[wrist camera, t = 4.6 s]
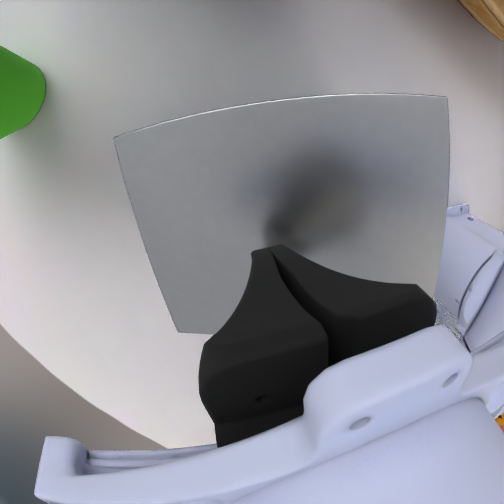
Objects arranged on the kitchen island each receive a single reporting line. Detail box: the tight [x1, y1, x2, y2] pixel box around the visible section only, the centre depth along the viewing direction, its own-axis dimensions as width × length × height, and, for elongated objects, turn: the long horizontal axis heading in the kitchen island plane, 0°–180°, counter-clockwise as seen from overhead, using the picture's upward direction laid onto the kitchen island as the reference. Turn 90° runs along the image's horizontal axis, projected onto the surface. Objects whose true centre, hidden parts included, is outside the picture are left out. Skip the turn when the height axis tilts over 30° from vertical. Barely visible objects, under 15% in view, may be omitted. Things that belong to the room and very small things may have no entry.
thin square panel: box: [113, 93, 450, 334], centre depth 13 cm, size 14×12×1 cm
